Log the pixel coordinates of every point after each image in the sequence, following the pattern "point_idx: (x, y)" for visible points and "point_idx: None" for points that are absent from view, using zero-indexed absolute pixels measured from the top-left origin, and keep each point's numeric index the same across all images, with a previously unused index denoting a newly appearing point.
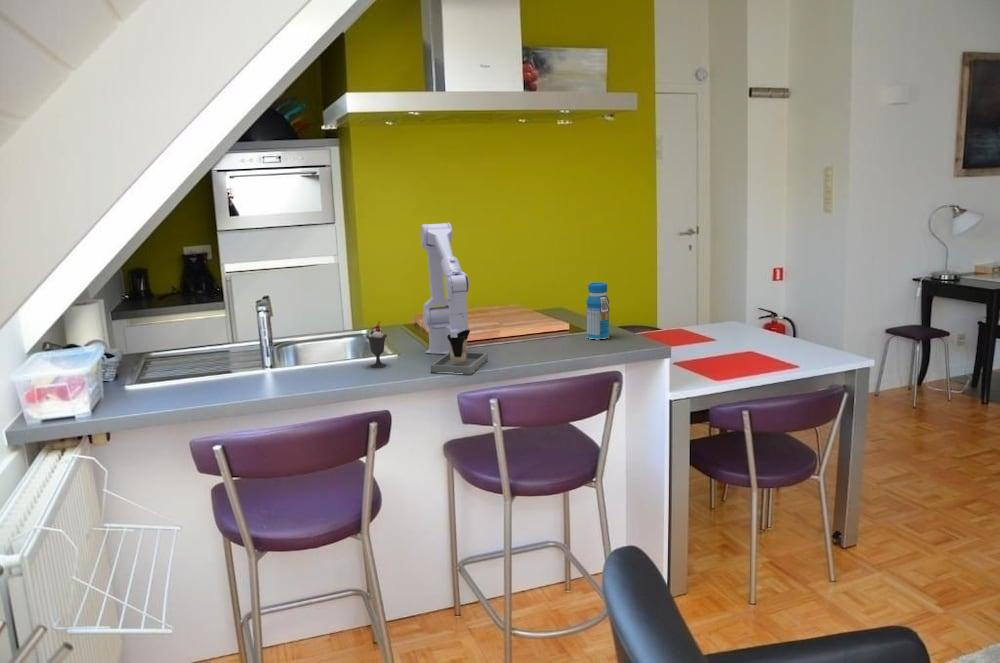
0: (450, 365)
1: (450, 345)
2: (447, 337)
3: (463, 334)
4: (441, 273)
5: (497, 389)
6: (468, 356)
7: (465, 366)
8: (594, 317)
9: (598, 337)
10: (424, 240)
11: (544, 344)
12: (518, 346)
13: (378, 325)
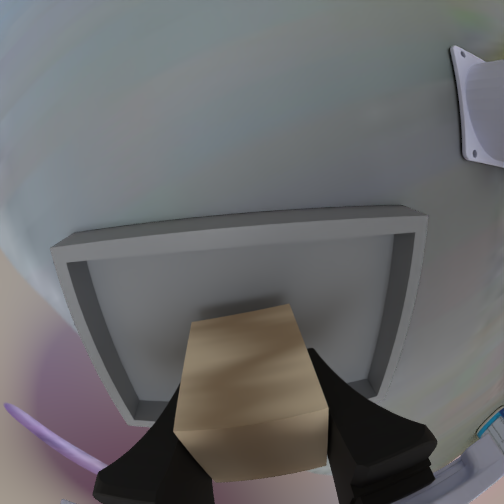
0: (218, 292)
1: (179, 412)
2: (99, 480)
3: (339, 489)
4: None
5: (79, 451)
6: (387, 322)
7: (126, 411)
8: None
9: (479, 433)
10: None
11: (492, 386)
12: (499, 353)
13: None
